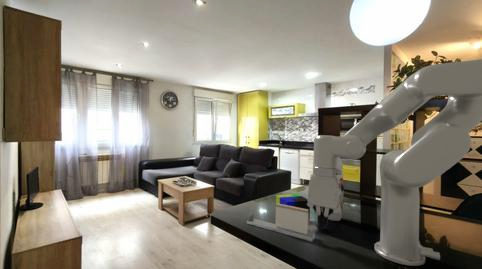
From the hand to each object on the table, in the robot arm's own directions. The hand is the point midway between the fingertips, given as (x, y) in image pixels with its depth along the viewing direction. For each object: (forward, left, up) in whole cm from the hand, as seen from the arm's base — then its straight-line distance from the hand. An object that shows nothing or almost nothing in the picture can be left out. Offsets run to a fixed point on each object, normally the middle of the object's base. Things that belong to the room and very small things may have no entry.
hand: (322, 226), depth 76 cm
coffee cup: (+2, -26, -5) cm, 26 cm away
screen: (+11, 0, -4) cm, 12 cm away
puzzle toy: (+15, -11, -6) cm, 20 cm away
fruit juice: (+9, -60, -5) cm, 61 cm away
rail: (+16, 0, -5) cm, 17 cm away
